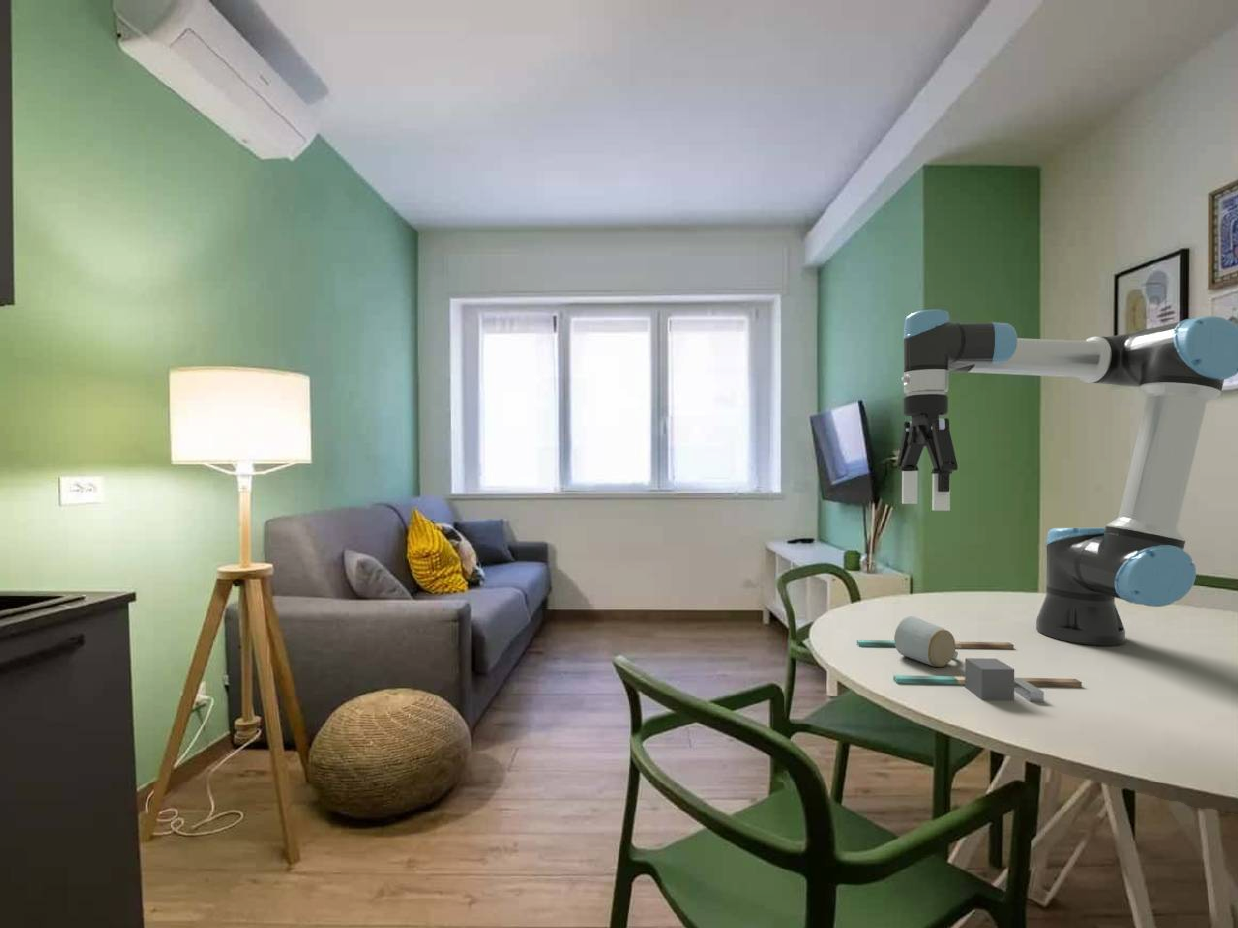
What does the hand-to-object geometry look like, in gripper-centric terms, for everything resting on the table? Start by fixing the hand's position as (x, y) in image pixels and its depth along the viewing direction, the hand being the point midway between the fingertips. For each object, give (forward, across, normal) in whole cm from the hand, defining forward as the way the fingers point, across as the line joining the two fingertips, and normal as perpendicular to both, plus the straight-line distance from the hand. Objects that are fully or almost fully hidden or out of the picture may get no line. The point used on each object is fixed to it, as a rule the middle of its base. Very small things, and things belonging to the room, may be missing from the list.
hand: (924, 507), depth 116 cm
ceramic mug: (+29, +2, 0) cm, 29 cm away
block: (+26, +17, +6) cm, 32 cm away
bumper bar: (+29, +17, +9) cm, 35 cm away
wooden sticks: (+29, +3, +5) cm, 29 cm away
